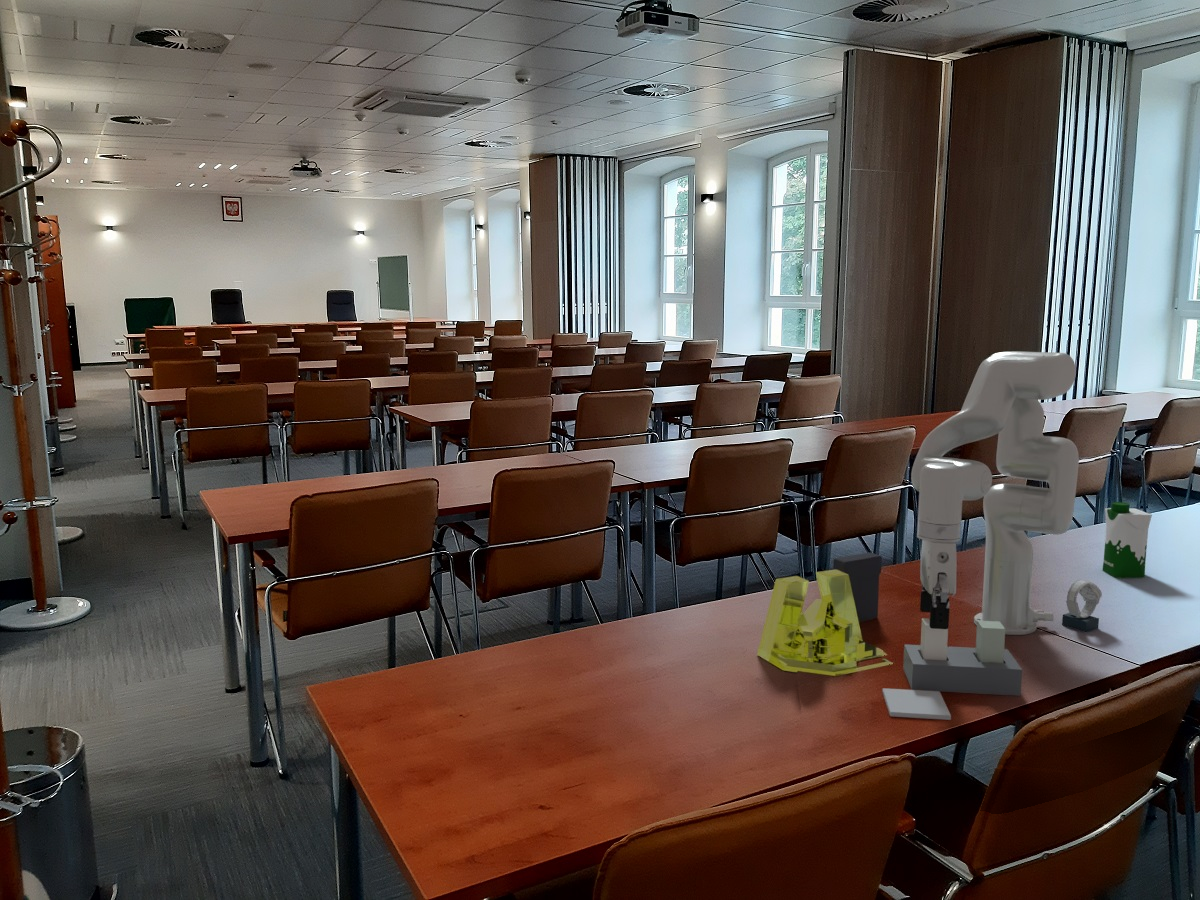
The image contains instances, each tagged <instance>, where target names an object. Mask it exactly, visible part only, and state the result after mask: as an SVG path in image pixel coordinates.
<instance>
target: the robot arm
mask: <svg viewBox="0 0 1200 900" xmlns="http://www.w3.org/2000/svg"><path fill="white" fill-rule="evenodd" d="M1076 374H1077V368H1076V363H1075V361H1074V359H1073V358H1072V357H1071V355H1069V354H1067V353H1066V352H1065V353H1064V352H1049V351H1047V352H1044V351H1043V352H1042V351H1017V350H1015V351H1001V352H995V353H993V354H991V355H990V356H989V357H987V358H986V359H983V360H982V362H981V363H980V365H979V366H978V368H977V371H976V373H975V375H974V378H973V381H972V383H971V385H970V388H969V389H968V392H967V395H966V397H965V399H964V402H963V404H962V407H961V410H960V411H959V412H958V413H956V414H954V415H952V416H951V417H949V418H948V419H945V420H944V421H943V422H941V423H940V424H939V425H938V426H936V427H935V428H934V429H933V430H931V431H930V432H929V433H928V434H927V435H926V437H925V438H924V439H923V441H922V443H921V445H920V447H919V449H918V452H917V454H916V456H915V459H914V462H913V465H912V468H911V473H910V476H911V477H910V479H911V485H912V486H913V488H914V489H915V490H916V491H917V492H919V495H918V508H917V509H918V512H917V513H918V514H917V528H916V529H917V533H916V538H918V539H920V540H922V541H921V551H920V565H919V566H920V567H919V571H920V572H919V574H920V575H919V577H920V582H921V591H920V602H919V603H920V604H919V605H920V606H919V610H920V612H922V613H929V618H930V625H929V626H930V628H932V629H948V630H949V626H950V625H949V623H950V609H951V608H950V597H949V594H950V596H955V595H956V593H957V568H958V567H957V542H958V543H959V542H960V541H961V529H962V513H963V501H978V500H980V499H982V498H983V500H982V501H983V502H982V503H983V504H982V507H983V515H984V516H983V517H984V523H985V550H984V551H985V553H984V566H983V567H984V568H983V571H984V573H983V589H982V605H981V612H978V613H977V614H976V615H974V617H973V623H974V624H975V626H977V621H999V622H1000V623H1001V624H1002V625H1003V626H1004V628H1005V635H1010V636H1022V635H1024V636H1025V635H1030V634H1033V633H1034V632H1036V631H1037V628H1038V626H1037V622H1038V621H1043V622H1053V621H1054V620H1055V619H1054V618H1055V617H1054V613H1053V612H1051V611H1050V612H1047V611H1044V609H1034V608H1033V607H1031V596H1032V595H1031V594H1032V582H1033V581H1032V580H1033V565H1034V562H1033V561H1034V548H1033V544H1032V543H1031V540H1030V539H1029V537H1028V535H1027V534H1026V531H1027V532H1031V533H1039V534H1045V535H1054V536H1055V535H1056V536H1059V535H1063V534H1066V533H1067V532H1068V531H1069V529H1070V528H1071V525H1072V521H1073V517H1074V509H1075V501H1076V494H1077V483H1078V477H1079V475H1078V473H1079V464H1080V459H1079V458H1080V457H1079V450H1078V448H1077V445H1076V444H1075V443H1074V441H1072V440H1071V439H1069V438H1065V437H1060V436H1049V435H1044V434H1043V433H1044V431H1043V430H1044V420H1045V410H1044V408H1043V406H1042V403H1041V402H1040V401H1041V400H1051V399H1054V398H1057V397H1059V396H1063V395H1065V394H1066V393H1067V392H1069V391H1070V389H1071V388H1072V387H1073V385H1074V383H1075V380H1076ZM995 435H998V437H997V438H998V439H997V446H996V447H997V448H996V458H995V459H996V460H995V464H996V468H997V471H998V472H999V473H1000V475H1003V476H1006V477H1009V478H1010V477H1011V478H1015V479H1023V480H1030V481H1032V480H1033V481H1039V482H1046V483H1047V484H1048V486H1049V488H1048V487H1038V486H1032V485H1024V484H1018V483H1017V484H1015V483H998V484H995V485H992V484H993V474H992V471H991V470H990V468H989V466H988V465H986V464H985V463H983V462H981V461H977V460H974V459H963V458H956V457H955V458H954V457H946V456H944V455H946V454H947V453H948V452H949V451H951V450H953V449H955V448H958V447H960V446H963V445H966V444H969V443H974V442H977V441H981V440H984V439H988V438H990V437H993V436H995Z"/></svg>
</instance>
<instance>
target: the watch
mask: <svg viewBox="0 0 1200 900" xmlns="http://www.w3.org/2000/svg"><path fill="white" fill-rule="evenodd" d="M1066 595H1067V596H1066V600H1065V603H1066V606H1067V610H1068V612H1067V613H1063V614H1062V619H1061V620H1062V621H1061V626H1064V627H1066V628H1067V627H1068V628H1071V629H1074V630H1077V631H1080V632H1083V633H1089V632H1092V631H1094V630H1095V631H1096V630H1098V629H1099V625H1100V624H1099V623H1100V622H1099V621H1100V618H1099V617H1095V616H1092V614H1093V613H1094V611H1095V609H1096V607H1097V605H1098V604H1099V603H1100V600H1101V598H1102V597H1103V593H1102V590H1101V589H1100V587H1099V586H1098V585H1097V584H1095V583H1093V582H1092V581H1089V580H1081V579H1077V580H1076V581H1074V582H1073V583H1072V584H1071V585H1070V587H1069V589H1068V591H1067V594H1066ZM1078 595H1080V596H1081V597H1082V599H1083V602H1085V603H1084V605H1083V608H1082V609H1081V610H1080V608H1079V602H1077V598H1078Z"/></svg>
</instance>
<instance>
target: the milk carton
mask: <svg viewBox="0 0 1200 900" xmlns="http://www.w3.org/2000/svg"><path fill="white" fill-rule="evenodd" d="M1130 505H1131V504H1130V503H1128V502H1124V501H1113V502H1111V507H1108V508H1104V515H1105V523H1106V524H1105V526H1106V527H1105V536H1104V537H1105V539H1104V553H1103V563H1102V572H1104V573H1106V574H1107V575H1109V576H1111V577H1113V578H1115V579H1142V578H1145V577H1146V560H1147V559H1146V558H1147V550H1148V549H1147V548H1148V537H1149V535H1148V534H1149V527H1150V524H1151V519H1152V516H1153V515H1152V514H1151V513H1148V512H1145V511H1143V510H1141V509H1138V508H1133V507H1132V508H1130Z"/></svg>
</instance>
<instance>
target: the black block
mask: <svg viewBox="0 0 1200 900" xmlns="http://www.w3.org/2000/svg"><path fill="white" fill-rule="evenodd" d="M882 558H883V557H882V555H879V554H876V553H873V552H865V553H859V554H853V555H846V556H841V557H835V558H833V562H832V563H833V567H832V570H835V569H837V570H839V571H841V572H844V573H846V574H848V576H849V579H850V584H851V589H852V593H853V598H854V603H855V607H856V612H857V617H858V621H859V623H861V622H866V621H870V620H875V619H878V618H879V616H878V614H879V595H880V594H879V591H880V588H879V587H880V574H881V573H882V566H883V565H882V564H883V563H882V562H883V561H882V560H883V559H882ZM874 618H875V619H874Z"/></svg>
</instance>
